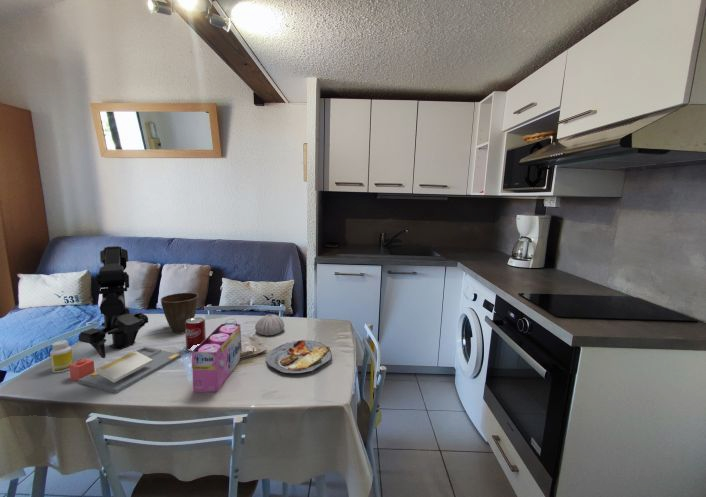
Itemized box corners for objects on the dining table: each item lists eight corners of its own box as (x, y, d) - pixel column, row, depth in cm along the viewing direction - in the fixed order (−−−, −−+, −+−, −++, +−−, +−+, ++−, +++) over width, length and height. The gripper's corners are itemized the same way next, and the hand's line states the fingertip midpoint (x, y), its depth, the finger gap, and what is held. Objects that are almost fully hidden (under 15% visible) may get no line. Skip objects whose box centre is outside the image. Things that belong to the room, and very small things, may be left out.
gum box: (223, 355, 119) (222, 322, 117) (243, 355, 119) (243, 322, 117) (192, 392, 95) (190, 351, 93) (217, 392, 95) (216, 352, 93)
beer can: (227, 346, 126) (226, 319, 124) (239, 346, 127) (238, 318, 125) (223, 351, 121) (222, 323, 120) (235, 351, 122) (234, 323, 120)
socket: (124, 358, 112) (124, 355, 111) (145, 349, 119) (145, 346, 119) (141, 362, 109) (141, 359, 109) (161, 352, 117) (161, 349, 117)
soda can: (197, 353, 120) (196, 324, 118) (182, 350, 121) (180, 322, 120) (210, 345, 127) (208, 317, 125) (194, 343, 128) (193, 316, 127)
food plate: (301, 339, 134) (301, 332, 134) (343, 355, 121) (343, 347, 120) (254, 363, 114) (254, 355, 114) (297, 386, 101) (297, 376, 100)
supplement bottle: (77, 366, 108) (74, 340, 106) (58, 374, 103) (55, 347, 101) (67, 363, 109) (64, 338, 108) (48, 371, 104) (45, 344, 103)
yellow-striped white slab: (95, 372, 96) (96, 368, 96) (135, 353, 108) (135, 350, 108) (114, 382, 94) (114, 378, 94) (152, 362, 106) (152, 359, 106)
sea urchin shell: (260, 339, 133) (259, 322, 132) (251, 329, 145) (251, 313, 143) (288, 333, 141) (288, 317, 140) (278, 324, 152) (278, 308, 151)
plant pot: (156, 331, 139) (154, 297, 137) (189, 321, 151) (187, 290, 149) (172, 339, 131) (170, 304, 129) (205, 329, 143) (204, 296, 141)
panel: (78, 382, 98) (77, 373, 98) (147, 350, 121) (146, 342, 121) (117, 393, 93) (116, 382, 93) (181, 357, 116) (180, 348, 116)
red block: (70, 378, 100) (68, 363, 100) (85, 372, 105) (84, 356, 104) (79, 381, 99) (78, 365, 98) (94, 374, 103) (93, 359, 103)
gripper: (101, 319, 88) (106, 369, 90) (158, 301, 106) (161, 343, 108) (75, 315, 91) (79, 363, 93) (134, 297, 109) (137, 338, 111)
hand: (118, 351), depth 101 cm, fingers open, 9 cm apart
